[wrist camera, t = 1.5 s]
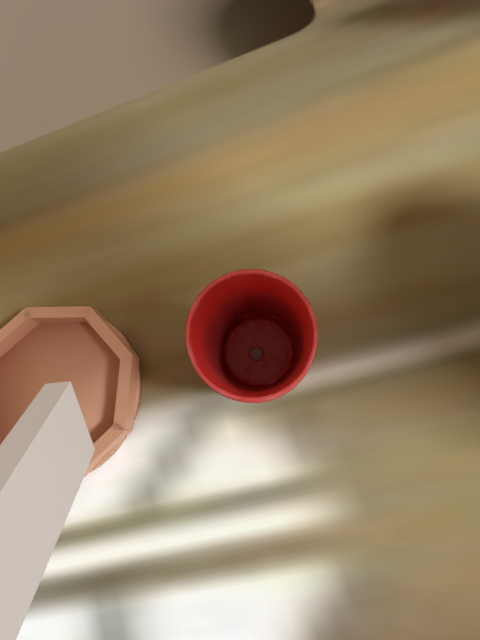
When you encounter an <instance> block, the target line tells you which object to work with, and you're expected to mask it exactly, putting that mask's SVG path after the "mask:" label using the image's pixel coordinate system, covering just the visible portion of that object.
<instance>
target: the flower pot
mask: <svg viewBox="0 0 480 640" xmlns="http://www.w3.org/2000/svg"><path fill="white" fill-rule="evenodd" d="M185 340H186V347H187V352H188V355H189V358H190V361H191V363H192V365H193V367H194V369H195V371H196V372H197V374H198V375H199V376H200V378H201V379H202V380H203V381H204V382H205V383H206V384H207V385H208V386H209V387H210V388H211V389H213V390H214V391H216V392H217V393H219V394H221V395H222V396H224V397H227V398H229V399H232V400H236V401H240V402H246V403H262V402H267V401H271V400H274V399H276V398H279V397H281V396H283V395H284V394H286V393H288V392H289V391H290V390H292V389H293V388H294V387H295V386H296V385H297V384H298V383H299V382H300V381H301V380H302V379H303V378H304V376H305V375H306V373H307V372H308V370H309V369H310V367H311V365H312V362H313V360H314V357H315V354H316V349H317V343H318V328H317V322H316V318H315V315H314V312H313V309H312V307H311V305H310V303H309V302H308V300H307V299H306V297H305V296H304V294H303V293H302V292H301V291H300V290H299V289H298V288H297V287H296V286H295V285H294V284H293V283H291V282H290V281H289V280H287V279H285V278H284V277H282V276H280V275H278V274H275V273H272V272H269V271H265V270H258V269H245V270H238V271H234V272H230V273H228V274H225V275H223V276H221V277H219V278H217V279H216V280H214V281H213V282H211V283H210V284H209V285H208V286H206V287H205V288H204V289H203V290H202V292H201V293H200V294H199V295H198V296H197V298H196V300H195V301H194V303H193V305H192V307H191V309H190V311H189V314H188V317H187V322H186V330H185Z"/></svg>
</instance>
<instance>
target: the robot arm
mask: <svg viewBox="0 0 480 640" xmlns="http://www.w3.org/2000/svg"><path fill="white" fill-rule="evenodd" d="M94 451H95V448H94V445H93V443H92V440H91V437H90V434H89V431H88V428H87V426H86V423H85V420H84V417H83V414H82V412H81V409H80V406H79V403H78V400H77V398H76V395H75V392H74V389H73V386H72V384H71V381H69V382H59V383H48V384H45V385H44V386H43V387H42V389H41V390H40V392H39V393H38V394H37V396H36V397H35V398H34V400H33V401H32V402H31V404H30V405H29V407H28V408H27V409H26V411H25V412H24V413H23V415H22V416H21V417H20V419H19V420H18V422H17V423H16V424H15V426H14V427H13V428H12V430H11V431H10V432H9V434H8V435H7V437H6V438H5V439H4V441H3V442H2V443H1V445H0V640H16V638H17V636H18V633H19V631H20V628H21V626H22V624H23V621H24V619H25V616H26V614H27V612H28V609H29V607H30V604H31V602H32V600H33V597H34V595H35V592H36V590H37V588H38V585H39V583H40V580H41V578H42V576H43V573H44V571H45V568H46V566H47V564H48V561H49V559H50V556H51V554H52V552H53V549H54V547H55V544H56V542H57V540H58V537H59V535H60V532H61V530H62V528H63V525H64V523H65V520H66V518H67V516H68V513H69V511H70V508H71V506H72V504H73V501H74V499H75V496H76V494H77V492H78V489H79V487H80V484H81V482H82V480H83V477H84V475H85V473H86V470H87V468H88V465H89V463H90V461H91V458H92V456H93V453H94Z"/></svg>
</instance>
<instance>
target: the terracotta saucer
mask: <svg viewBox="0 0 480 640" xmlns="http://www.w3.org/2000/svg"><path fill="white" fill-rule="evenodd" d="M139 359H140V358H139V357H138V355H137V354H136V353H135V352H134V350H133V348H132V346H131V345H130V343H129V341H128V340H127V339H126V338H125V336H124V335H123V334H122V333H121V332H120V331H119V330H118V329H117V328H116V327H115V326H113V325H112V324H110V323H109V322H108V321H107V320H106V319H105V318H104V317H103V316H102V315H101V313H100V312H99V311H97V310H95V309H94V308H92V307H90V306H73V307H26V308H24V309H23V310H22V311H21V312H20V313H19V314H17V315H16V316H15V317H14V318H13V319H12V320H11V321H9V322H8V323H7V324H6V325H5V326H4V327H3V328H2V329H0V445H1V443H2V442H3V441H4V439H5V438H6V437H7V435H8V434H9V432H10V431H11V430H12V428H13V427H14V426H15V424H16V423H17V422H18V420H19V419H20V417H21V416H22V415H23V413H24V412H25V411H26V409H27V408H28V407H29V405H30V404H31V402H32V401H33V400H34V398H35V397H36V396H37V394H38V393H39V392H40V390H41V389H42V387H43V386H44V385H45V384H48V383H59V382H69V381H71V384H72V386H73V389H74V392H75V395H76V398H77V400H78V403H79V406H80V409H81V412H82V414H83V417H84V420H85V423H86V426H87V428H88V431H89V434H90V437H91V440H92V443H93V445H94V448H95V451H94V453H93V456H92V458H91V461H90V463H89V465H88V468H87V470H86V473H85V475H84V477H85V476H86V475H87V474H88V473H90V472H92V471H93V470H95V469H96V468H98V467H99V466H101V465H102V464H103V463H104V462H105V461H107V460H108V459H109V458H110V457H111V456H112V455H113V454H114V453H115V452H116V451H117V449H118V448H119V447H120V446H121V444H122V443H123V441H124V440H125V439H126V437H127V435H128V434H129V433H130V432H131V431H132V429H133V425H134V421H135V418H136V416H137V412H138V408H139V405H140V398H141V373H140V368H139ZM84 477H83V478H84Z"/></svg>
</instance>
